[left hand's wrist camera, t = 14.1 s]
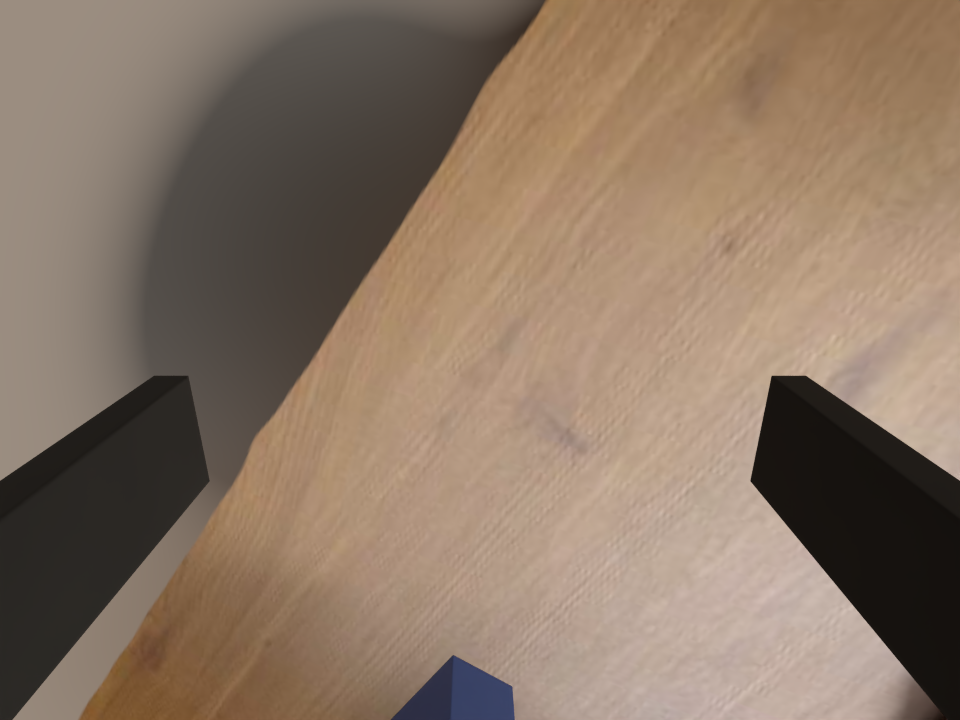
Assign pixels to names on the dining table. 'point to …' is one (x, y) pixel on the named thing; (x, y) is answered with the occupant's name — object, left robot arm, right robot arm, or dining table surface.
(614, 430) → the dining table surface
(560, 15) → the dining table surface
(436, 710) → the box
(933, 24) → the dining table surface
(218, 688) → the dining table surface
